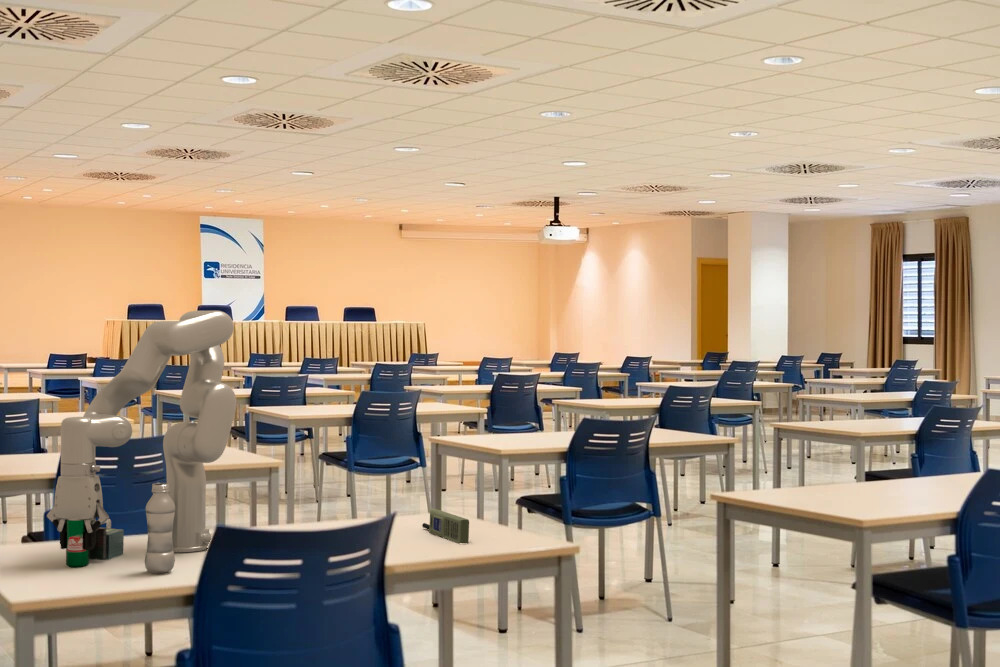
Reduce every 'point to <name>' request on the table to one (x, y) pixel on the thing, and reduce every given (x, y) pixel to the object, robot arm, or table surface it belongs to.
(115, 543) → the dark grey cube
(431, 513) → the handheld radio
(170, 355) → the robot arm
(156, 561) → the plastic bottle
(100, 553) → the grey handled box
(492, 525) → the table surface
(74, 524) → the soda can
